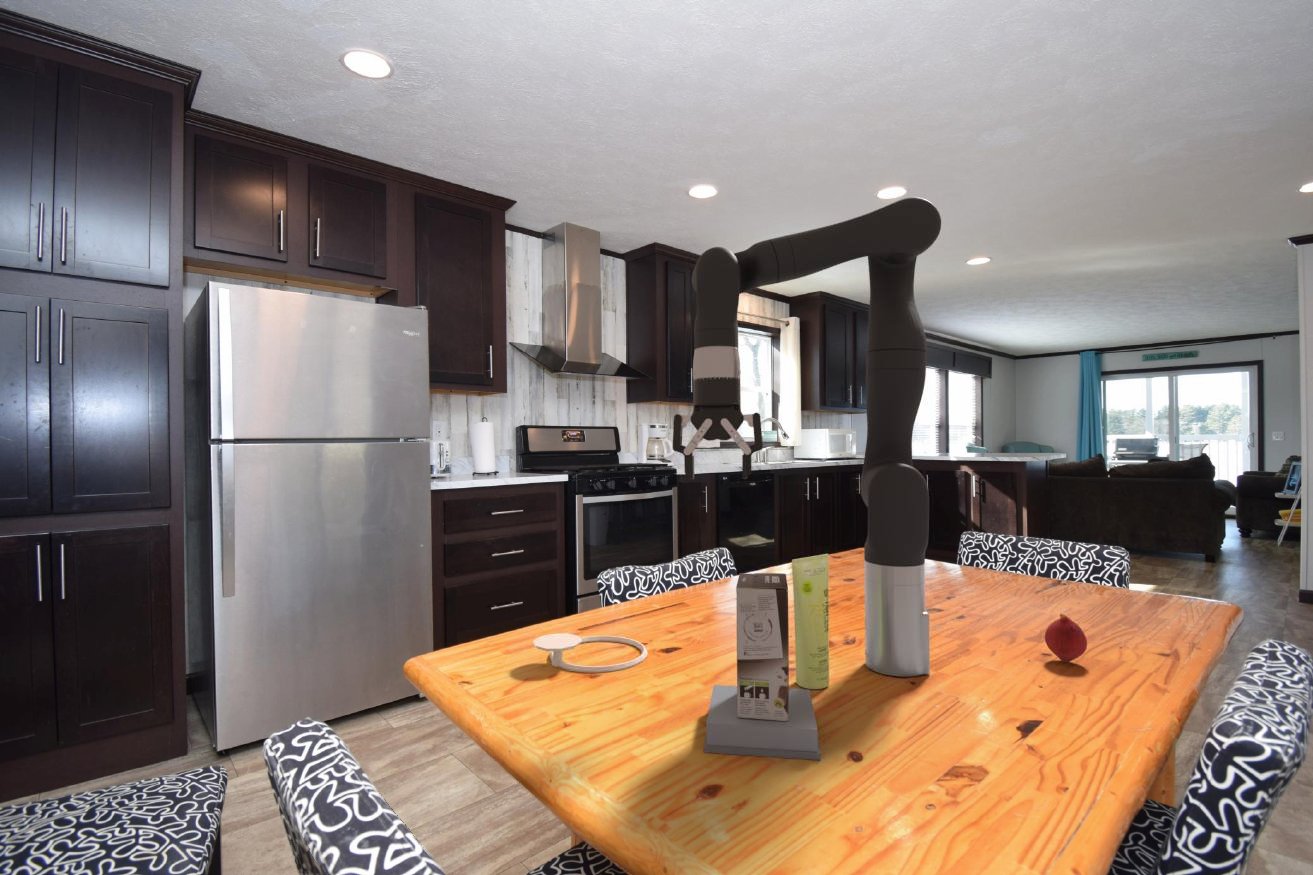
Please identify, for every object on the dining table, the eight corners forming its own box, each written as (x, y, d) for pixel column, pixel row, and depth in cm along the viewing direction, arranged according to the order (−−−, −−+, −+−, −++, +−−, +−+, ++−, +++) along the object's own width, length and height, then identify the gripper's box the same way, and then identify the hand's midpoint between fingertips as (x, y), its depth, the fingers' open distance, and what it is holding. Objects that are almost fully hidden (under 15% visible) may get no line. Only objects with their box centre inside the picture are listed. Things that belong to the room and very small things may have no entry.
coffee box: (790, 722, 77) (788, 588, 77) (736, 718, 78) (734, 586, 78) (788, 692, 86) (787, 572, 86) (740, 689, 87) (739, 570, 87)
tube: (828, 693, 94) (826, 560, 94) (793, 689, 95) (791, 558, 95) (830, 679, 99) (828, 553, 99) (796, 676, 101) (795, 552, 101)
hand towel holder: (666, 635, 110) (558, 660, 98) (667, 660, 110) (558, 688, 98) (614, 613, 124) (514, 632, 112) (614, 635, 124) (514, 658, 112)
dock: (812, 713, 87) (811, 688, 87) (820, 760, 75) (820, 730, 75) (711, 708, 89) (711, 683, 89) (704, 752, 77) (703, 724, 77)
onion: (1083, 659, 107) (1083, 611, 107) (1090, 670, 102) (1089, 620, 102) (1043, 654, 109) (1042, 607, 109) (1047, 665, 104) (1047, 616, 104)
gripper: (761, 378, 105) (762, 477, 105) (675, 380, 108) (676, 477, 108) (761, 373, 98) (763, 480, 98) (669, 376, 100) (670, 480, 100)
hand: (717, 478), depth 103 cm, fingers open, 8 cm apart
